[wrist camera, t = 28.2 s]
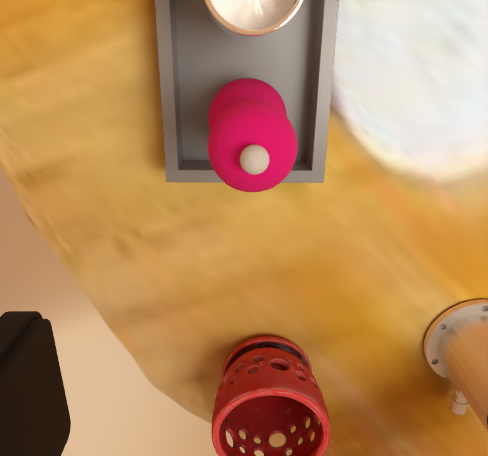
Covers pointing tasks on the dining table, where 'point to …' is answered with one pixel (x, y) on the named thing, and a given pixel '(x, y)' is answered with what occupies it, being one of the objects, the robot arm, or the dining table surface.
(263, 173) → the pepper mill
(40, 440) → the robot arm
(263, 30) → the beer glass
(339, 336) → the dining table surface
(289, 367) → the plant pot
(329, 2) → the tote
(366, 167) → the dining table surface
